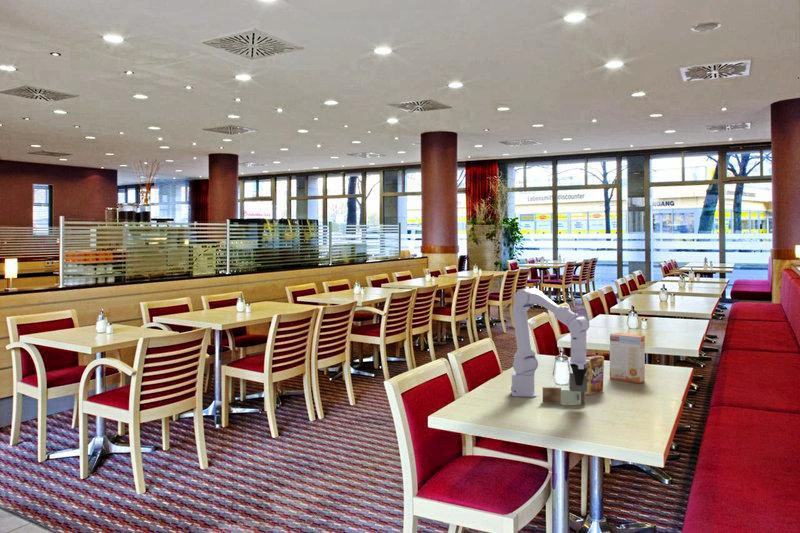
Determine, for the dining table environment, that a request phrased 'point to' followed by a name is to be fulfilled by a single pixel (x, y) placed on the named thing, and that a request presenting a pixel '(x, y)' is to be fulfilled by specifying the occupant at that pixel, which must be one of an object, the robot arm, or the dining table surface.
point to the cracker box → (627, 357)
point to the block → (577, 387)
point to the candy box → (594, 374)
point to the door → (570, 397)
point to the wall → (556, 395)
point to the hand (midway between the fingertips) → (578, 383)
